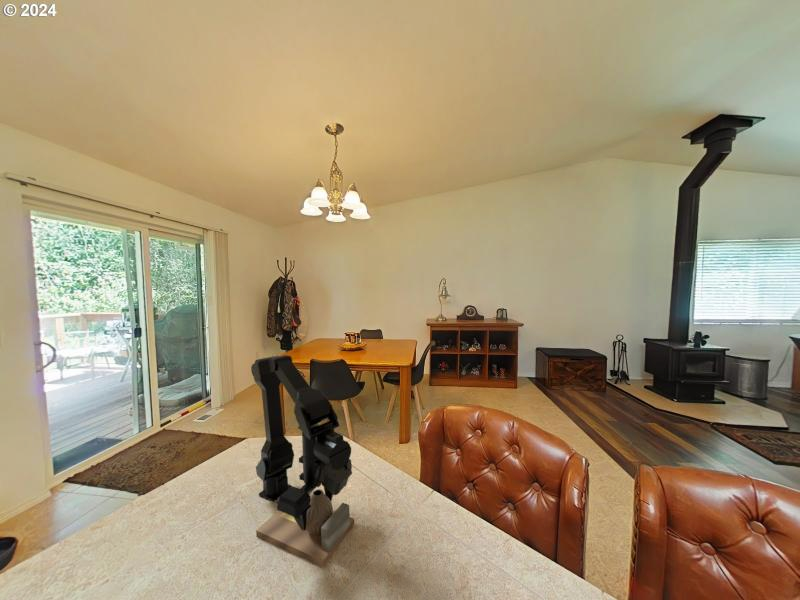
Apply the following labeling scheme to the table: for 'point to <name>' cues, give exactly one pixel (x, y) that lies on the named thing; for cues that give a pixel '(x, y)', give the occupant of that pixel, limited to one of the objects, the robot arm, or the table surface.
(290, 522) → the wooden board with block
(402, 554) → the table surface
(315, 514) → the vase
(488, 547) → the table surface
